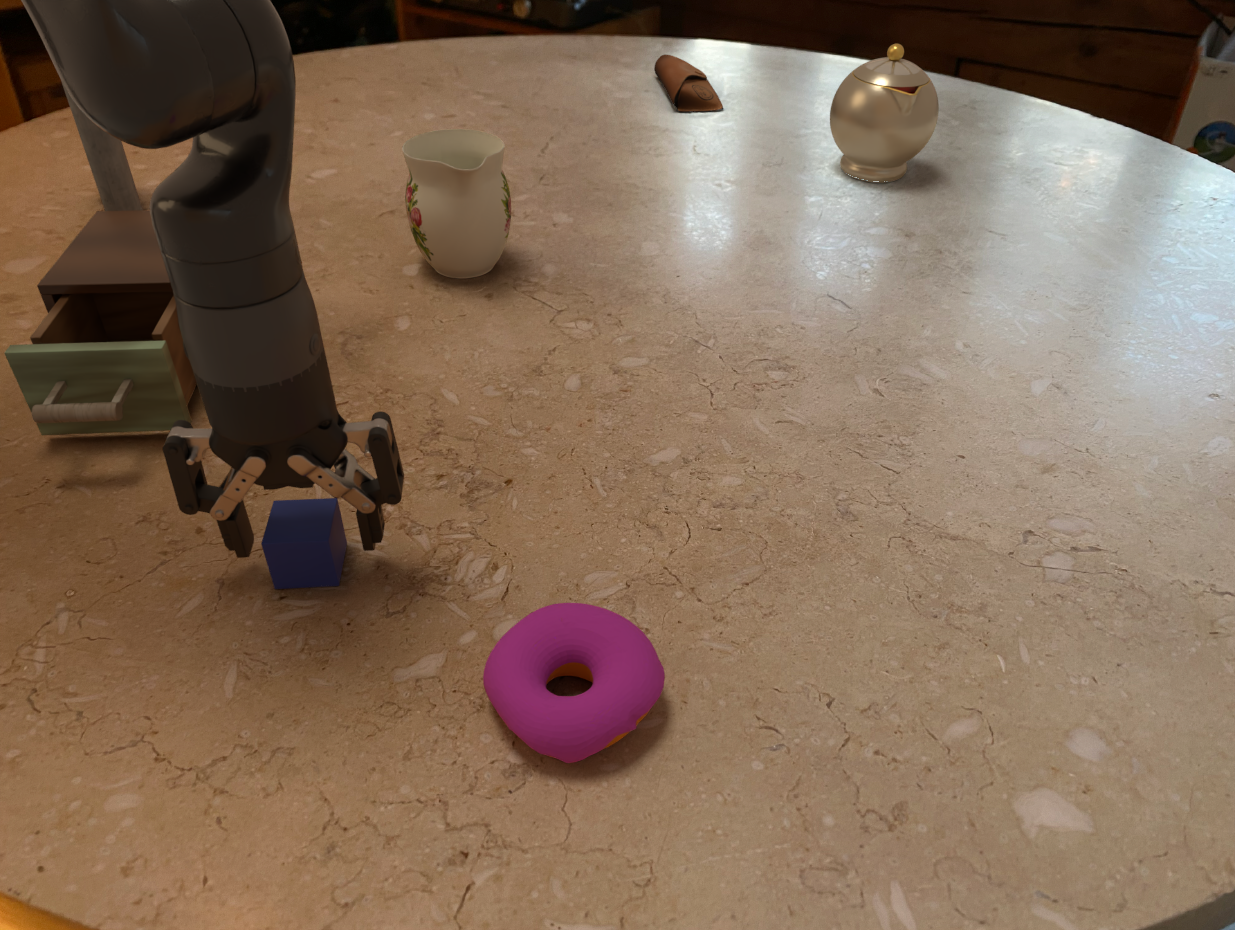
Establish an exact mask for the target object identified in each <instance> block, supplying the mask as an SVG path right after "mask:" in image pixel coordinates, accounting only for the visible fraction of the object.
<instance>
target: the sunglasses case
mask: <svg viewBox="0 0 1235 930" xmlns="http://www.w3.org/2000/svg"><path fill="white" fill-rule="evenodd" d="M653 67H654V68H653V71H654V74H655V75H656V77H657V78H658V80H659V81H660V83H661V85H662V87H663V88H664V90H665V92H666V94H667V96H668V98H669V100H670V103H671V104H672V105H673V106H674V107H675V109H676V110H677V111H678V112H680V113H706V112H716V111H721V110H723V109H724V105H723V103H722V101H721V99H720V97H719V95H718V93H717V92H716V91H715V89H714V87H713V85H712V84H711V83H710V81H709V79H708V76H707V75H706V74H705V73H704V72H703V71H702V70H701V69H699V68H697V67H696V66H694V65H692V64H691V63H689V62H688V61H686V60H684V59H681V58H680V57H677V56H675V55H672V54H662V55H660V56H659V57H658V58H657V59H656V61H655V63H654V66H653Z"/></svg>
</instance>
